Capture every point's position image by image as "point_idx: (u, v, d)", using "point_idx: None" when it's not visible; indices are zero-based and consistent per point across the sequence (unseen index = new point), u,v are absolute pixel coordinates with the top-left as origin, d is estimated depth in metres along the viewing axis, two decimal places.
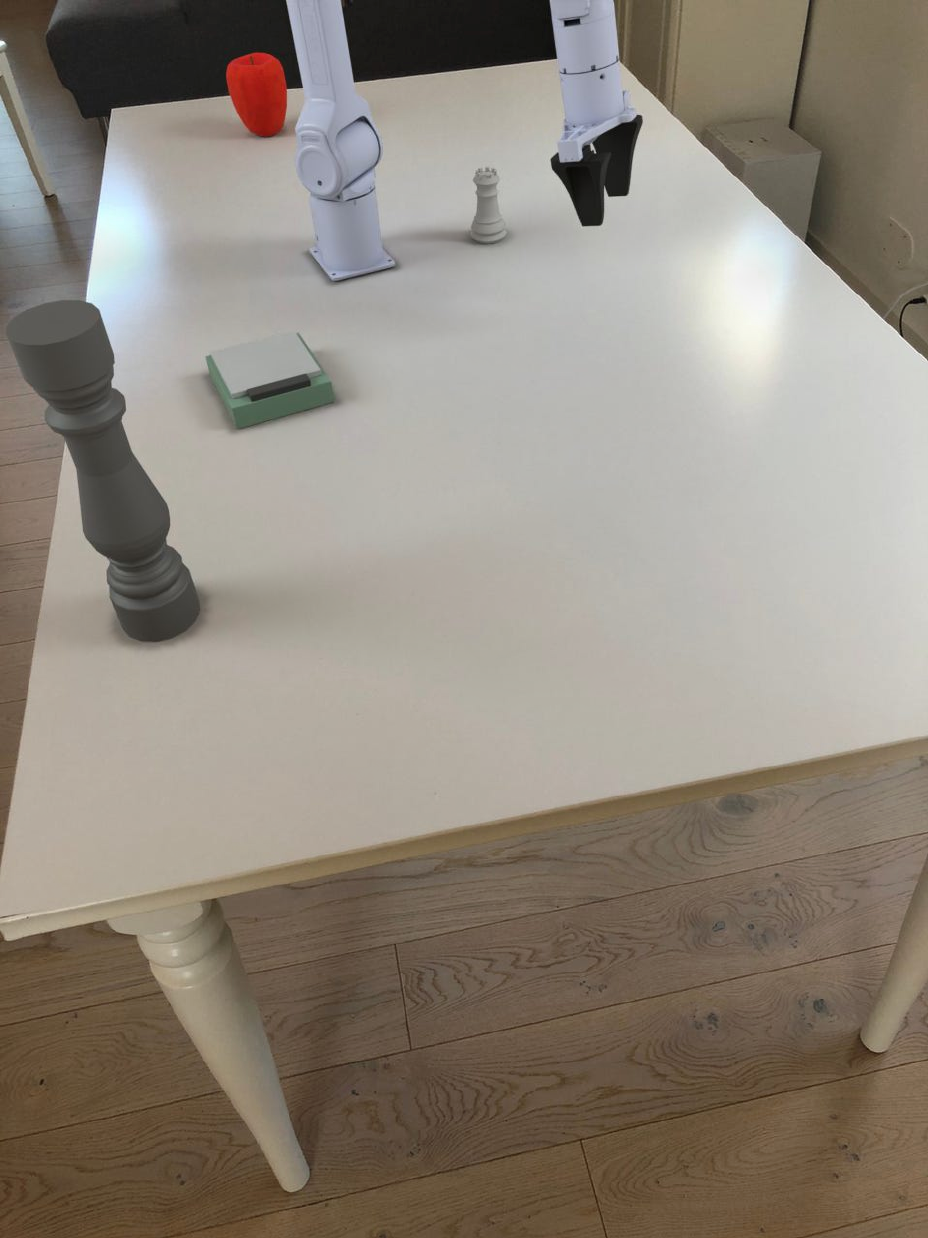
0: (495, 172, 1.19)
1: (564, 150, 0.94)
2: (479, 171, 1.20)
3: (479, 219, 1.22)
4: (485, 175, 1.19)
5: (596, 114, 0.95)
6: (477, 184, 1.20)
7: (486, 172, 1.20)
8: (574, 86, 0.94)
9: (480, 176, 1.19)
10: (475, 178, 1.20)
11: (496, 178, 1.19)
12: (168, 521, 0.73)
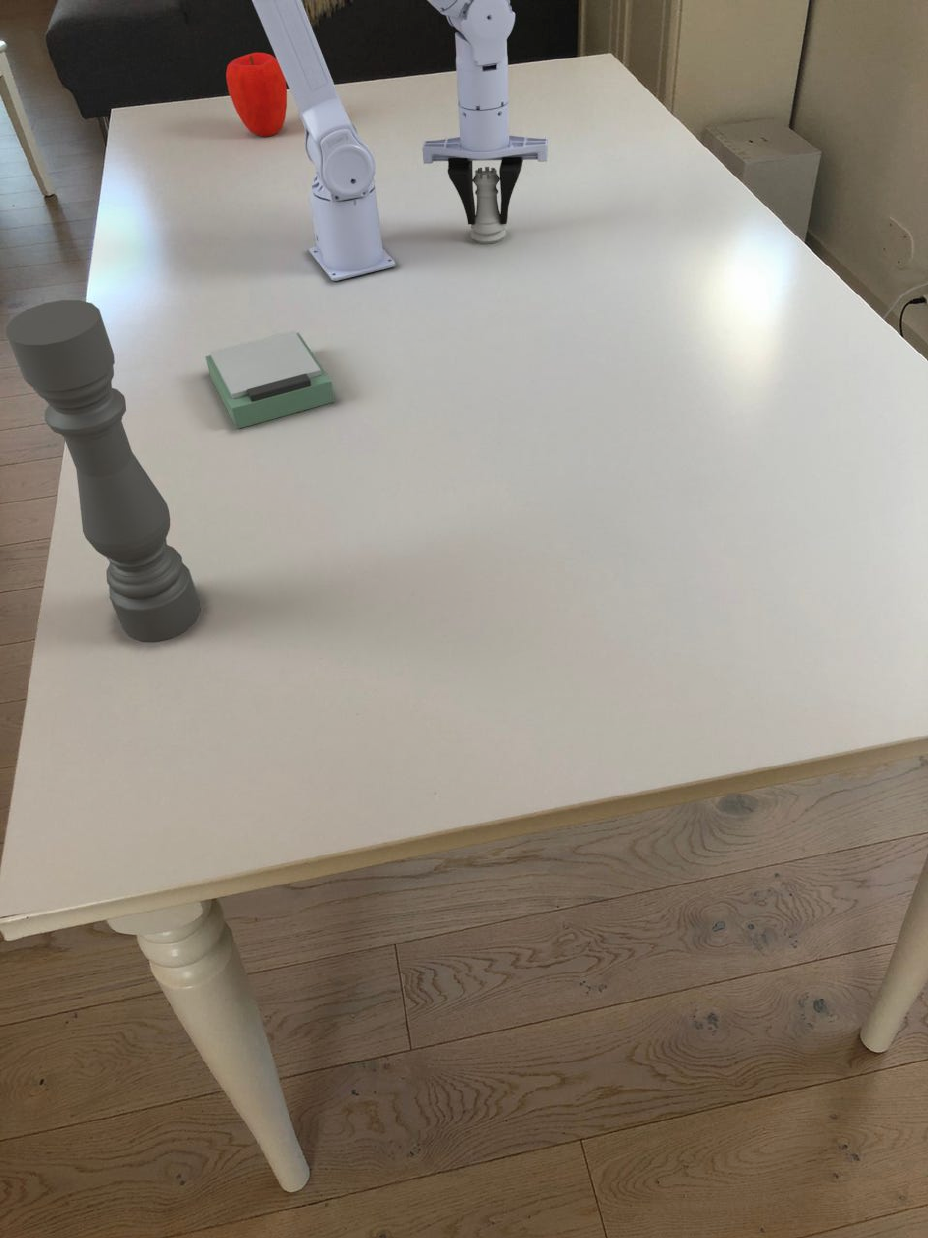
0: (495, 172, 1.19)
1: (547, 150, 1.17)
2: (479, 171, 1.20)
3: (479, 219, 1.22)
4: (485, 175, 1.19)
5: None
6: (477, 184, 1.20)
7: (486, 172, 1.20)
8: (508, 112, 1.14)
9: (480, 176, 1.19)
10: (475, 178, 1.20)
11: (495, 178, 1.19)
12: (168, 521, 0.73)
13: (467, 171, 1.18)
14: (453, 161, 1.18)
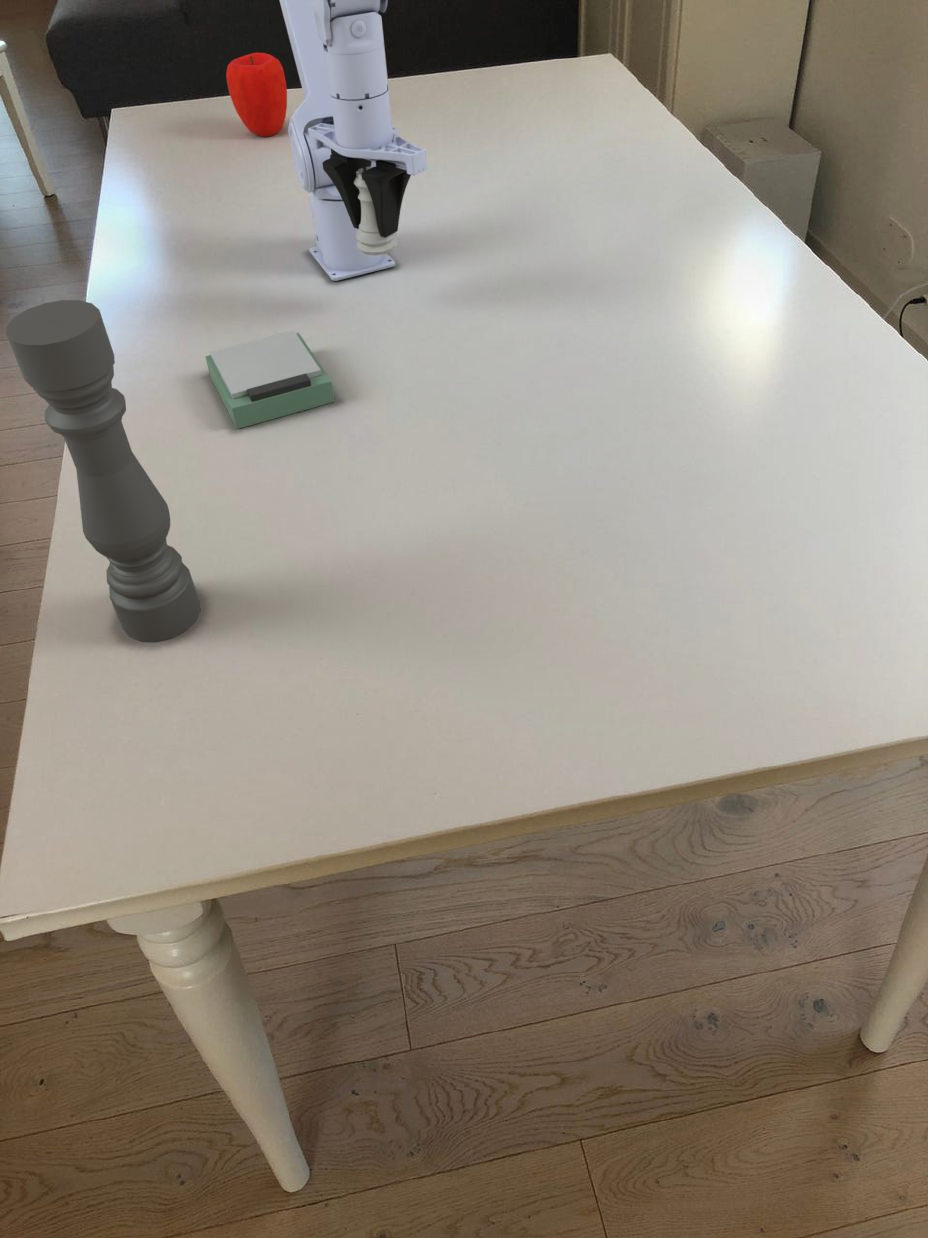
0: None
1: (417, 162, 0.97)
2: None
3: (360, 224, 1.06)
4: (360, 176, 1.02)
5: (391, 131, 1.00)
6: (355, 184, 1.03)
7: None
8: (377, 108, 0.97)
9: None
10: (356, 177, 1.04)
11: None
12: (168, 521, 0.73)
13: (340, 166, 1.02)
14: (335, 151, 1.03)
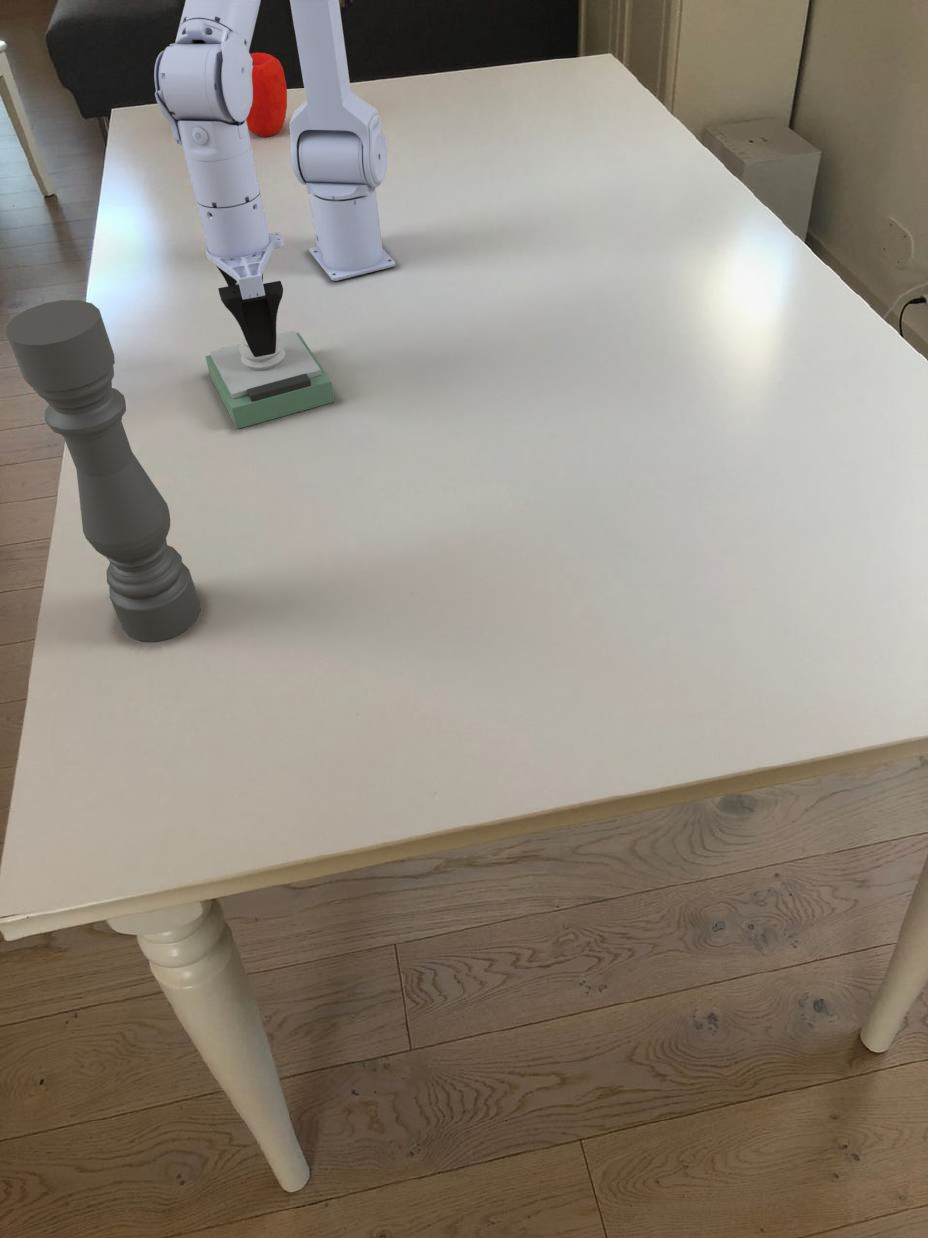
0: None
1: (247, 287, 0.88)
2: None
3: None
4: None
5: (254, 244, 0.90)
6: None
7: None
8: (229, 219, 0.88)
9: None
10: None
11: None
12: (168, 521, 0.73)
13: None
14: None
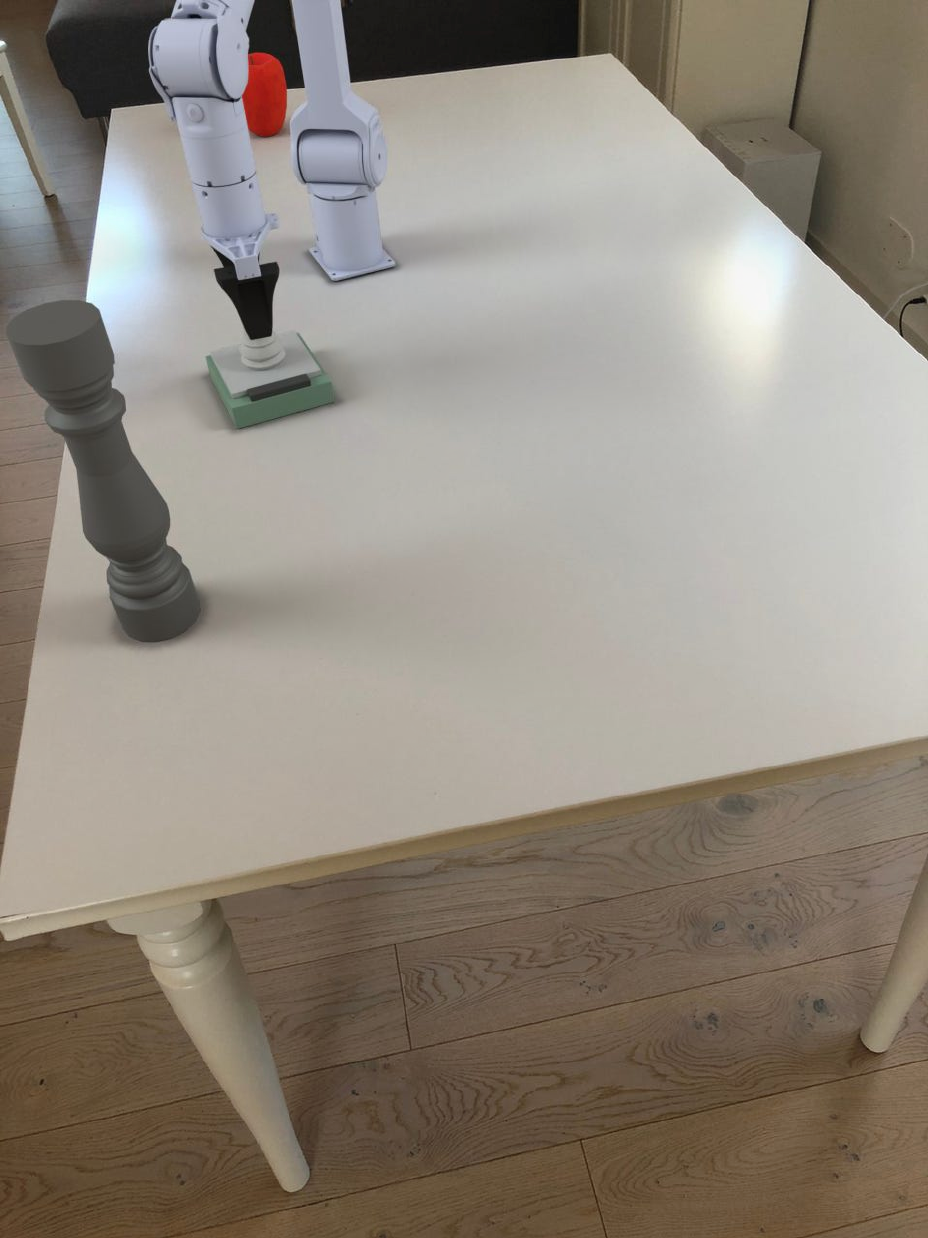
0: None
1: (243, 267, 0.87)
2: None
3: None
4: None
5: (250, 225, 0.89)
6: None
7: None
8: (224, 198, 0.87)
9: None
10: None
11: None
12: (168, 521, 0.73)
13: None
14: None
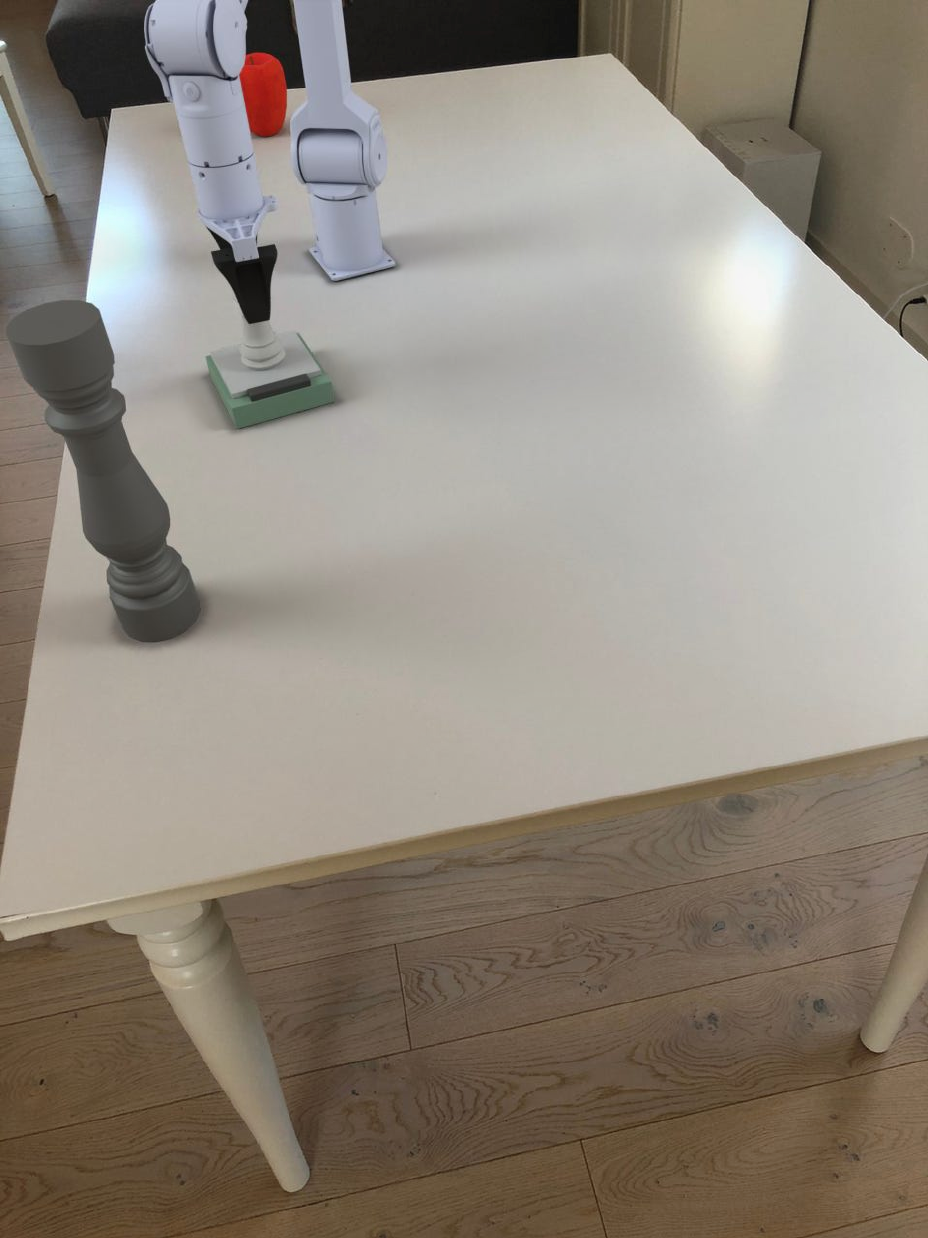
0: None
1: (241, 249, 0.86)
2: None
3: None
4: None
5: (248, 206, 0.88)
6: None
7: None
8: (221, 179, 0.86)
9: None
10: None
11: None
12: (168, 521, 0.73)
13: None
14: None
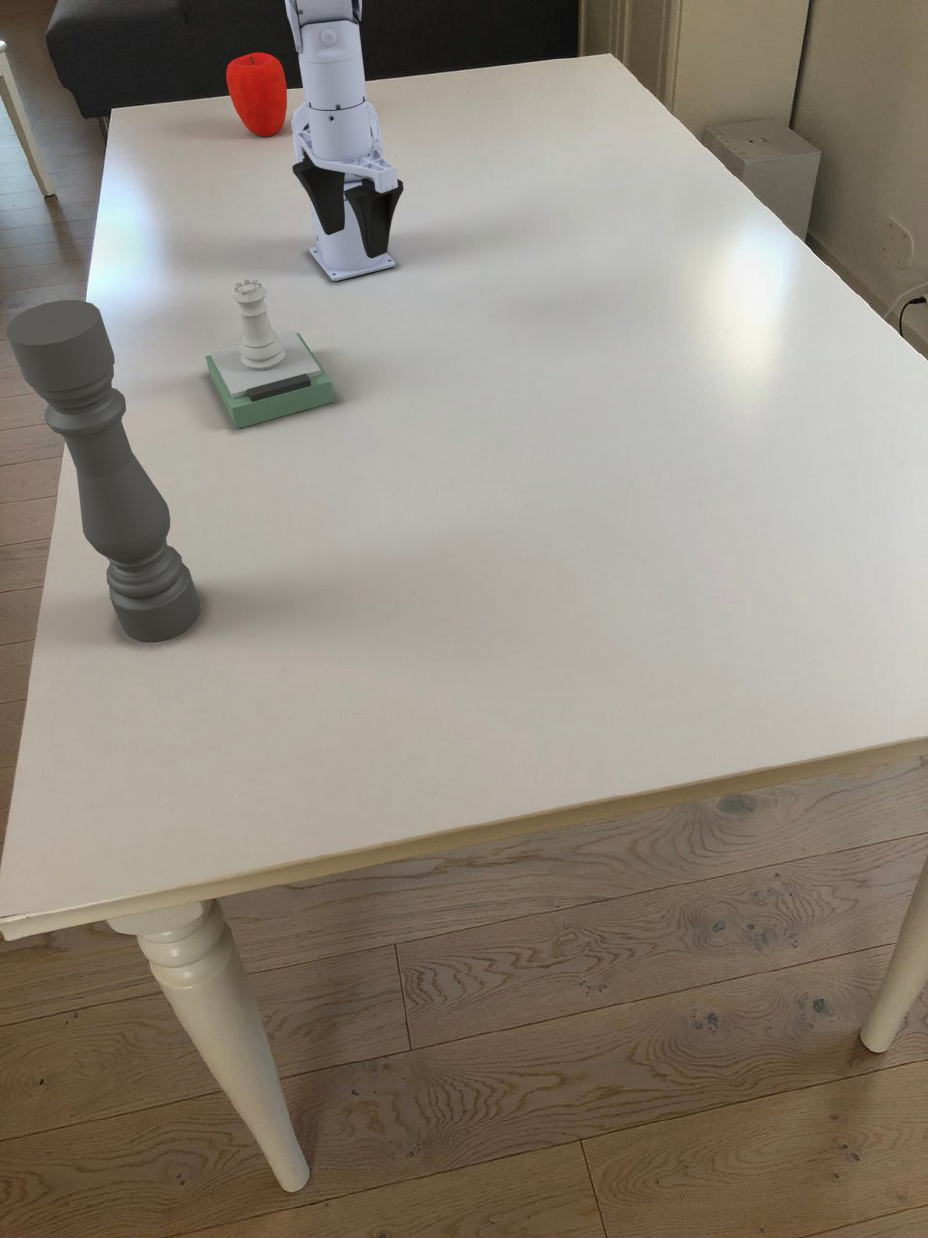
0: (247, 291, 0.94)
1: (385, 179, 0.93)
2: (253, 282, 0.96)
3: None
4: (235, 287, 0.95)
5: (368, 144, 0.95)
6: None
7: (251, 287, 0.95)
8: (350, 120, 0.92)
9: (238, 286, 0.96)
10: None
11: (243, 298, 0.95)
12: (168, 521, 0.73)
13: (308, 171, 1.00)
14: (307, 155, 1.01)
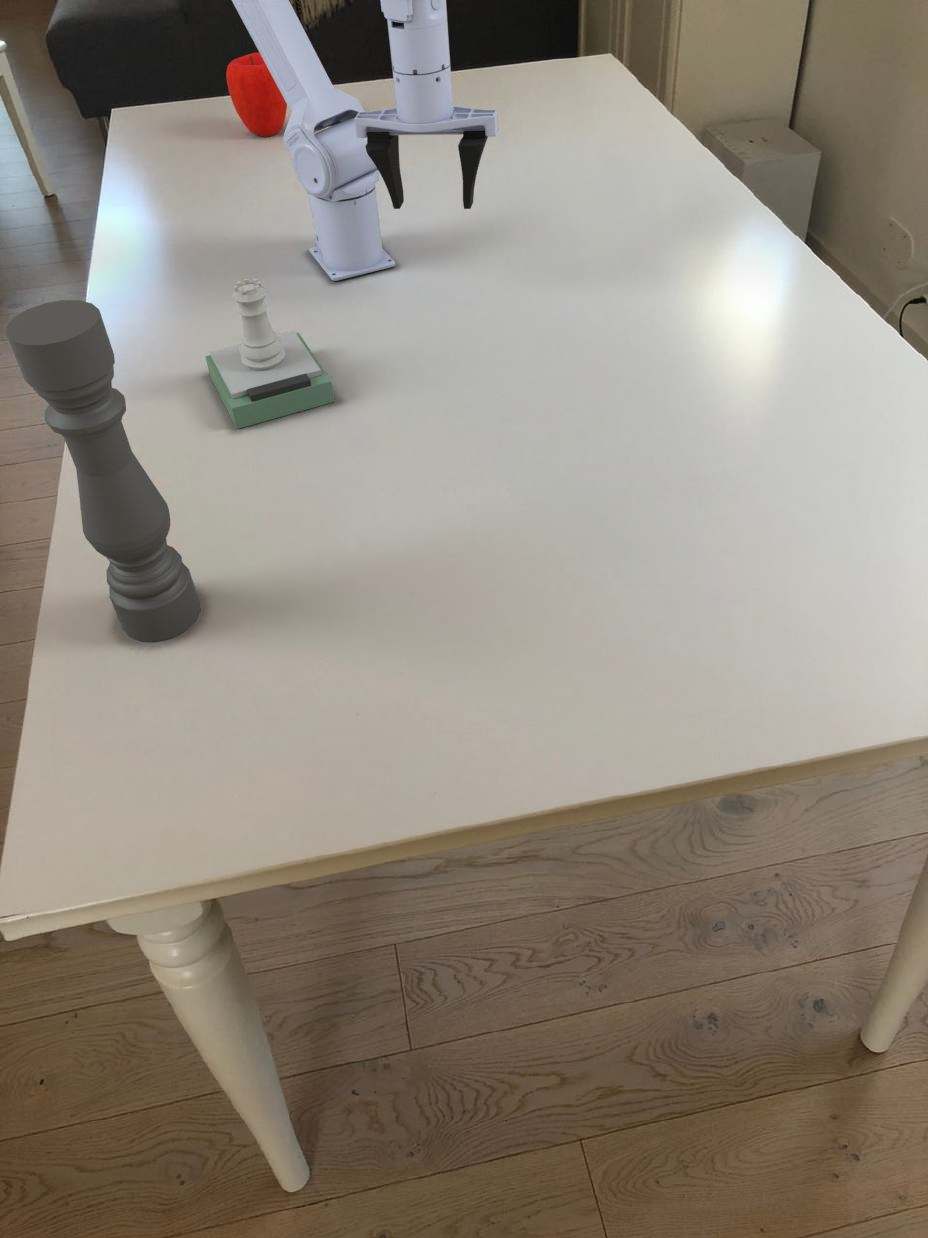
0: (247, 291, 0.94)
1: (496, 123, 1.01)
2: (253, 282, 0.96)
3: None
4: (235, 287, 0.95)
5: None
6: None
7: (251, 287, 0.95)
8: (449, 78, 0.99)
9: (238, 286, 0.96)
10: None
11: (243, 298, 0.95)
12: (168, 521, 0.73)
13: (387, 147, 1.03)
14: (372, 135, 1.04)
